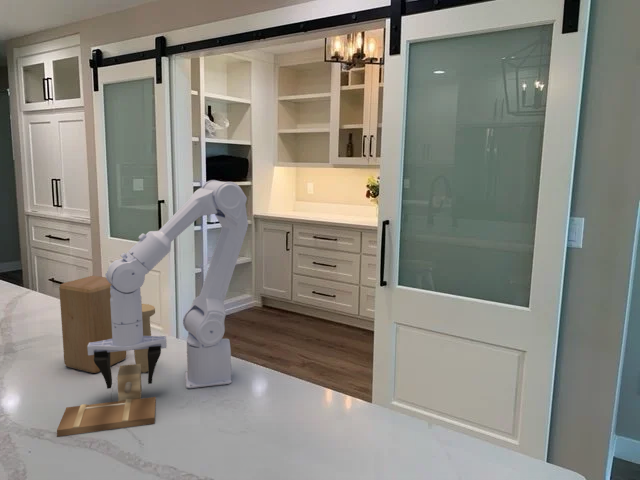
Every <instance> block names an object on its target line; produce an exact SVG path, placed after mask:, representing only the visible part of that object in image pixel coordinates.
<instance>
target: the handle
mask: <svg viewBox="0 0 640 480" xmlns="http://www.w3.org/2000/svg"><path fill="white" fill-rule="evenodd" d="M155 314H156V307H155V306H154V305H152V304H149V303H148V304H147V303H142V322H143V336H152V327H151V317H153V316H154V315H155ZM133 352H134V361H135V364H141V373H145V374H146V373H148V371H149V369H148V349H138V350H133Z"/></svg>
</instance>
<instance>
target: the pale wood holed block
mask: <svg viewBox="0 0 640 480" xmlns="http://www.w3.org/2000/svg"><path fill="white" fill-rule="evenodd" d="M116 380H117V395H118V396H117V397H118V399H117V400H118V401H125V400H126V399H131V400H133V399H141V397H142V390H143V389H142V372H141V364H136V363H134V364H125V365H119V368H118V372H117V379H116Z"/></svg>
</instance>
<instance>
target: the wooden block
mask: <svg viewBox="0 0 640 480" xmlns="http://www.w3.org/2000/svg"><path fill="white" fill-rule="evenodd" d="M110 286H111V284H110V283H109V282H108V280H107V278H106V276H98V275H89V276H86V277H82V278H78V279H75V280H70V281H67V282H63V283H61V284H60V285H59V286H58V288H59V289H58V290H59V304H60V316H61V317H60V319H61V333H62V344H63V345H62V347H63V350H62V351H63V359H64V361H63V363H64V365H65V366H66V367H67V368H71V369H75V370H80V371H84V372H87V373H91V374H96V373H99V372H101V371H100V369H99V368H98V367H97V365H96V364H95V362H94V355H88V348H87V346H88V344H89V343H90V342H98V341H103V340H108V339H112V324H111V307H110V298H111V295H110ZM126 357H127V351H117V352H110V367H111V366H113V365H115V364H117V363H119V362H121V361H123V360H125V359H126Z"/></svg>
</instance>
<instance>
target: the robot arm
mask: <svg viewBox="0 0 640 480" xmlns="http://www.w3.org/2000/svg"><path fill="white" fill-rule="evenodd" d="M247 201H248V197H247V196H246V194H245V192H244V190H243V189H242V188H241V186H240V185H238V184H237V183H235V182H234V181H220V180H216V179H210V180H207V181H206V182H205V183H204V184H203V185H202V186H201V187H199V188H198V189H196V190H195V191H194V192H193V193H192V194H191V196H190V197H189V198H188V199H187V200H186V201H185V203H183V205H181V207H180V208H179V209H178V210H177V211H176V212H175V213H174V214H173V215H172V216H171V218H169V219H168V221H167V222H165V224H163V225H162V227H160V228H159V230H150V231H147V233H146V234H145V233H144V232H143V233H141V234H139V236H138V241H137V242H136V243H135V244H134V245H133V246H132V247H131V248H130V249H128V250H127V252H122V253H121V254H120V257H121V258H119V259H116V260H114V261H112V262H111V263H110V264H109V266H108V267H107V270H106V272H105V277H106V278H107V280H108V282H109V283H110V284H111V286H110V295H111V298H110V307H111V324H112V339H108V340H103V341H98V342H90V343H89V344H88V346H87V348H88V355H94V362H95V364H96V365H97V367H98V368H99V369H100V371H99V372H101V375H102V376H103V379H104V383H105V385H106V389H112V386H113V377H112V367H111V366H110V352H117V351H126V352H127V351H134V350H138V349H148V369H149V371H147V377H148V378H147V383H148V385H150V384H153V376H154V372H155V368H156V366H157V363H158V362H159V360H160V358H161V357H160V356H161V353H162V349H167V346H168V345H167V335H159V336H158V335H156V336H155V335H151V336H143V322H142V304H143V303H142V295H141V287H143V285H144V283H145V277H146V275H147V274H149V273H150V272H151V271H152V270H153V269H154V268H155V267H156V266H157V265H158V264H159V263H160V262H161V261H162V260H163V259H164V258H165V257H166V256H167V255H168V254H169V253H170V252H171V250H172V249H171V247H172V242H173V241H174V240H175V239H176V238H177V237H179V236H180V235H181V234H182V233H183V232H184V231H185V230H186V229H188V228H189V227H190V226H191V225H192V224H193V223H194V222H196V221H197V219H199V218H200V217H203V216H209V215H214V216H215V217H216V219H217V220H218V222H219V224H220V225H221V226H220V227H221V228H220V229H221V230H220V233H219V235H218V238H217V241H216V244H215V248H214V251H213V254H212V257H211V259H210V263H209V266H208V269H207V272H206V276H205V278H204V281H203V285H202V287H201V290H200V293H199V295H198V296H197V297H195V298H194V299H193V301H192V304H191V306H190V307H189V308H188V310H187V311H186V312H185V314H184V315H183V318H182V326H183V328H184V329H185V330H186V331H187V333H188V334H187V338H186V354H187V355H186V364H187V365H186V366H187V367H186V368H187V370H186V371H185V373H184V374H185V376H184V377H185V387H186V389H193V388H195V389H196V388H202V387H204V388H205V387H211V386H220V385H229V384H231V383H232V351H231V343H230V339H229V338H223V337H224V334H225V331H226V330H225V329H226V327H225V318H226V316H227V315H226V314H227V313H226V309H225V303H224V302H225V298H226V296H227V293H228V291H229V290H228V289H229V287H230V284H231V280H232V278H233V273H234V271H235V269H236V268H235V267H236V264H237V262H238V258H239V256H240V254H241V253H240V252H241V249H242V246H243V244H244V240H245V237H246V234H247V230H248V227H249V221H248V214H247V206H246V204H247Z"/></svg>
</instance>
